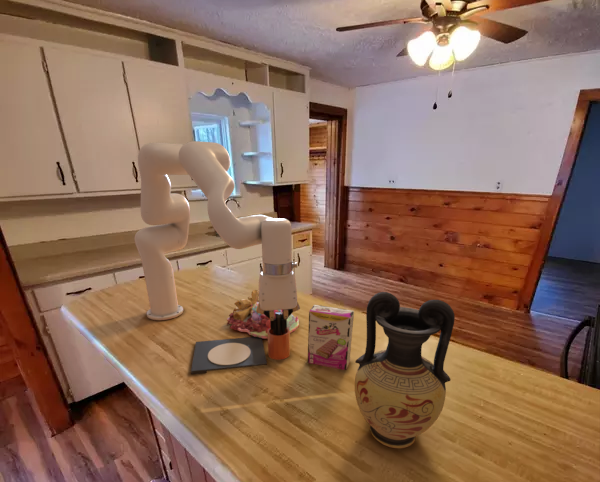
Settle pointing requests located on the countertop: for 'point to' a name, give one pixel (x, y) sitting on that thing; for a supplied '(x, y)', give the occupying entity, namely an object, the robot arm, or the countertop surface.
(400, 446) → the amphora
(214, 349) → the board
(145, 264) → the robot arm
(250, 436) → the countertop surface
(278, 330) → the marker pen
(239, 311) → the candy landscape model
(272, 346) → the pen pot
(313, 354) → the candy bar box
